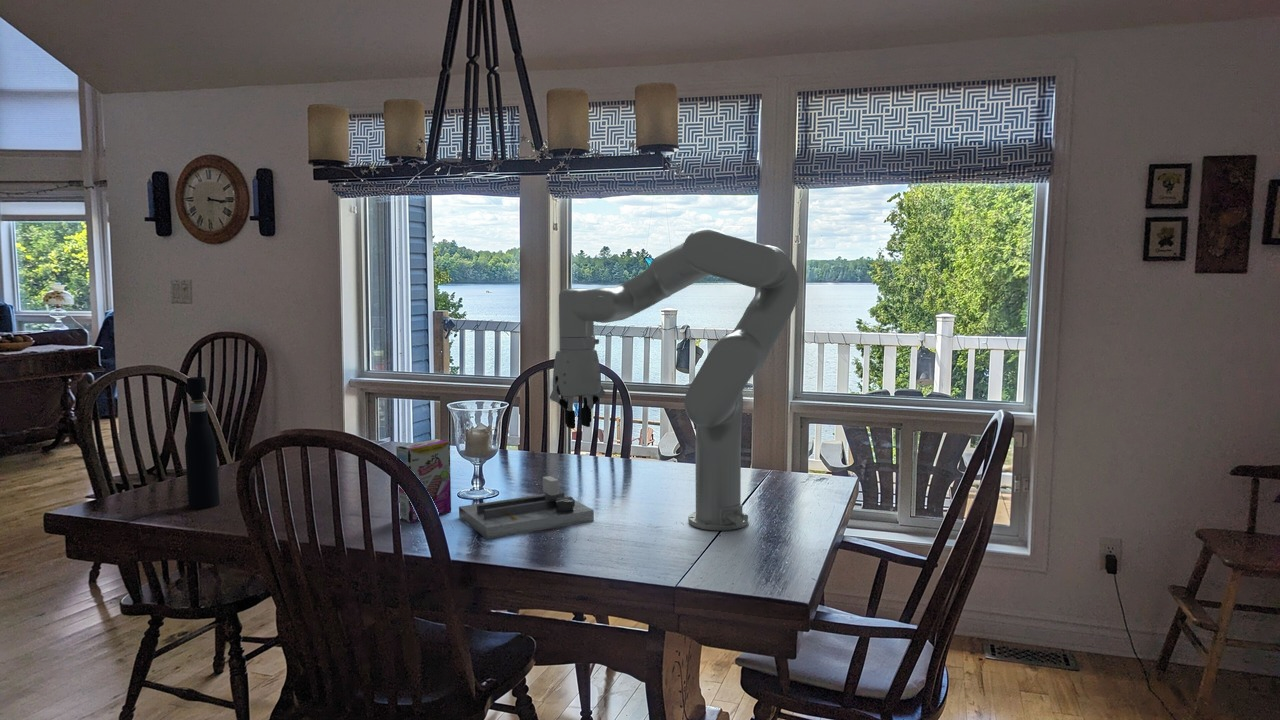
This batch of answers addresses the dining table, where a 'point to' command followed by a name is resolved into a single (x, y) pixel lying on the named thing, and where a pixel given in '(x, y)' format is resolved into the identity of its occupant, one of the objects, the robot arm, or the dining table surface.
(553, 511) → the console
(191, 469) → the black water bottle
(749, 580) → the dining table surface
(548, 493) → the block
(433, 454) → the candy bar box
